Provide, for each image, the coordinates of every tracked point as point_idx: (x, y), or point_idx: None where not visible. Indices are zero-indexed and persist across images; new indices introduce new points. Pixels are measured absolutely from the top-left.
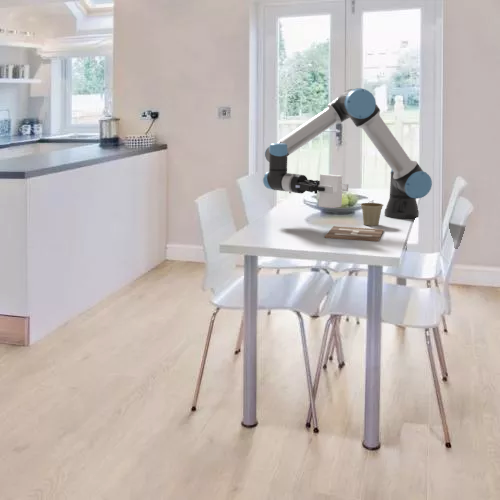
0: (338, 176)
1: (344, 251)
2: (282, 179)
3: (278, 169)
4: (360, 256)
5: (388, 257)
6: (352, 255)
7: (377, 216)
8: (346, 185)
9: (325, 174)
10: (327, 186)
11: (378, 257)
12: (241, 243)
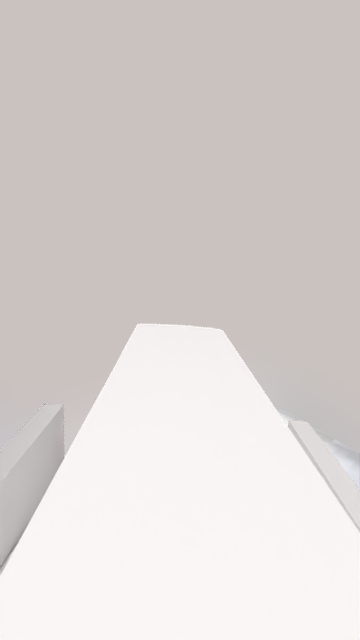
0: (212, 330)
1: (352, 478)
2: None
3: None
4: (333, 438)
5: (279, 411)
6: (349, 451)
7: None
8: (60, 419)
9: (191, 470)
10: (334, 463)
11: (298, 419)
12: None
